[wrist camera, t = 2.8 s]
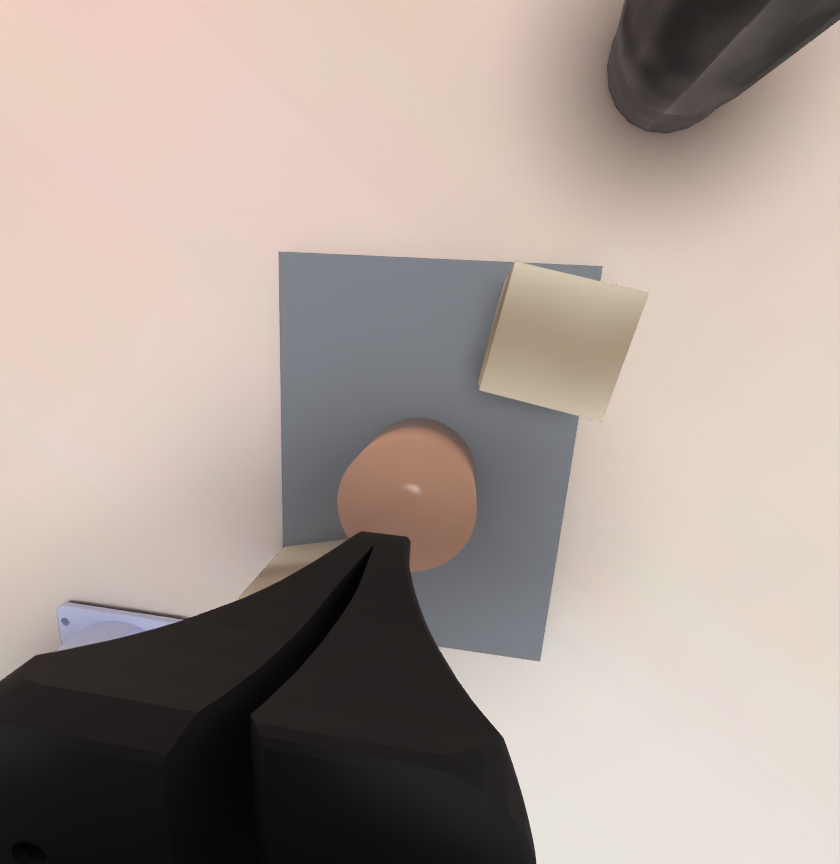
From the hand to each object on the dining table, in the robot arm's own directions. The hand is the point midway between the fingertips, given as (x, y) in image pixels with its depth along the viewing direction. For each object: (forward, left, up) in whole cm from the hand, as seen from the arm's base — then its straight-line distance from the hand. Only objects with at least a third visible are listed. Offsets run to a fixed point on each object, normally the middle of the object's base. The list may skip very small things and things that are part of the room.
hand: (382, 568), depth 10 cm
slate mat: (0, 0, -8) cm, 8 cm away
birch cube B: (+6, -4, -8) cm, 11 cm away
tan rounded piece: (0, 0, -8) cm, 8 cm away
